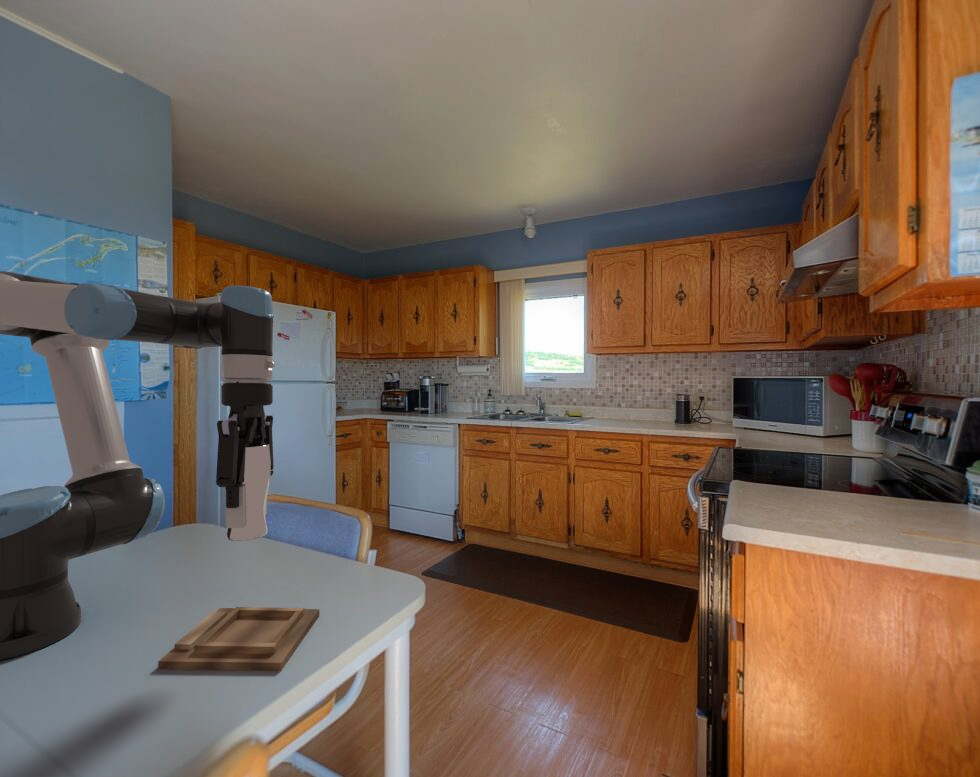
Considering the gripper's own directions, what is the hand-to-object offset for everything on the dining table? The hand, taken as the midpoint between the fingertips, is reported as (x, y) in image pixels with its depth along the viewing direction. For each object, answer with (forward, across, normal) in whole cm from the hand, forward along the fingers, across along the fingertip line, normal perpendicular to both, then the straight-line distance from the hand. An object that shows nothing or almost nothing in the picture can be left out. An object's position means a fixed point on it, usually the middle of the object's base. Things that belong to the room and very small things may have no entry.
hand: (247, 520), depth 76 cm
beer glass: (+3, 0, 0) cm, 3 cm away
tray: (+20, 0, 0) cm, 20 cm away
